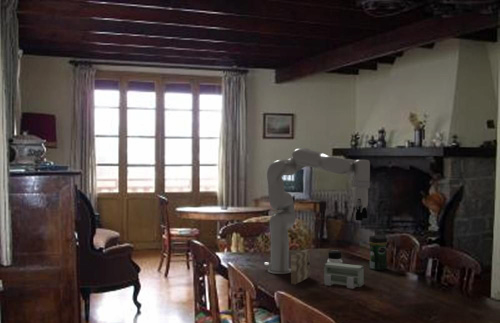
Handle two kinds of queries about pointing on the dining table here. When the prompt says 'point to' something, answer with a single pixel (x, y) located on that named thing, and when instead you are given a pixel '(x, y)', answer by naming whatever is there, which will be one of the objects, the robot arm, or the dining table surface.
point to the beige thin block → (300, 266)
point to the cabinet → (343, 274)
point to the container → (334, 257)
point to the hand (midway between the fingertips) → (361, 219)
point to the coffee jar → (378, 252)
